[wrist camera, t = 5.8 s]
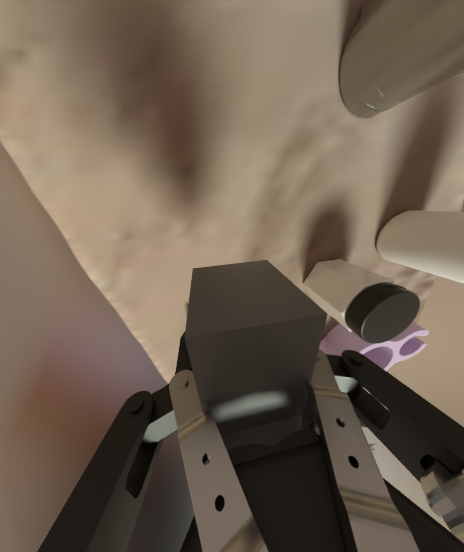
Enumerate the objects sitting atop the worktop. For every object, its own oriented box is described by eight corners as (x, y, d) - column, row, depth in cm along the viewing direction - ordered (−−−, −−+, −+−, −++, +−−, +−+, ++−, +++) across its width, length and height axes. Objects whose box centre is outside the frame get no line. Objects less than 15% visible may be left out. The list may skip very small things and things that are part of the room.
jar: (349, 283, 33) (423, 323, 22) (314, 306, 33) (368, 355, 23) (336, 248, 29) (418, 275, 18) (297, 274, 30) (353, 316, 19)
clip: (393, 298, 37) (432, 317, 31) (390, 334, 42) (423, 356, 36) (312, 334, 37) (335, 361, 31) (320, 366, 43) (341, 393, 36)
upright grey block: (192, 268, 11) (178, 390, 4) (266, 259, 11) (368, 350, 4) (209, 362, 14) (216, 507, 8) (263, 352, 15) (315, 477, 8)
